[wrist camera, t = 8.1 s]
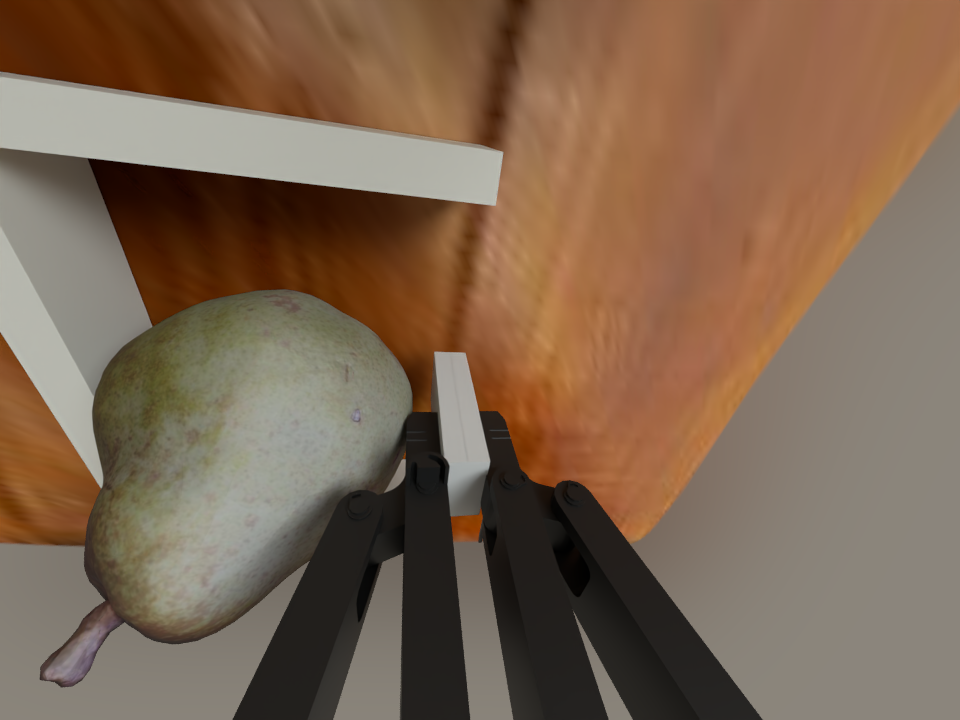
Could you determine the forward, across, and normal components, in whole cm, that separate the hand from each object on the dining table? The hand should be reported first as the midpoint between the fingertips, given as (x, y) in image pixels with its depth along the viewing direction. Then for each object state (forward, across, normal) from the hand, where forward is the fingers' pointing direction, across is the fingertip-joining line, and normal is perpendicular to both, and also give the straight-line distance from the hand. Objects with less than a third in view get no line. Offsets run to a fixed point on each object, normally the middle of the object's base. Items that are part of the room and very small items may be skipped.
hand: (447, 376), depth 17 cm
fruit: (+2, -6, 0) cm, 7 cm away
